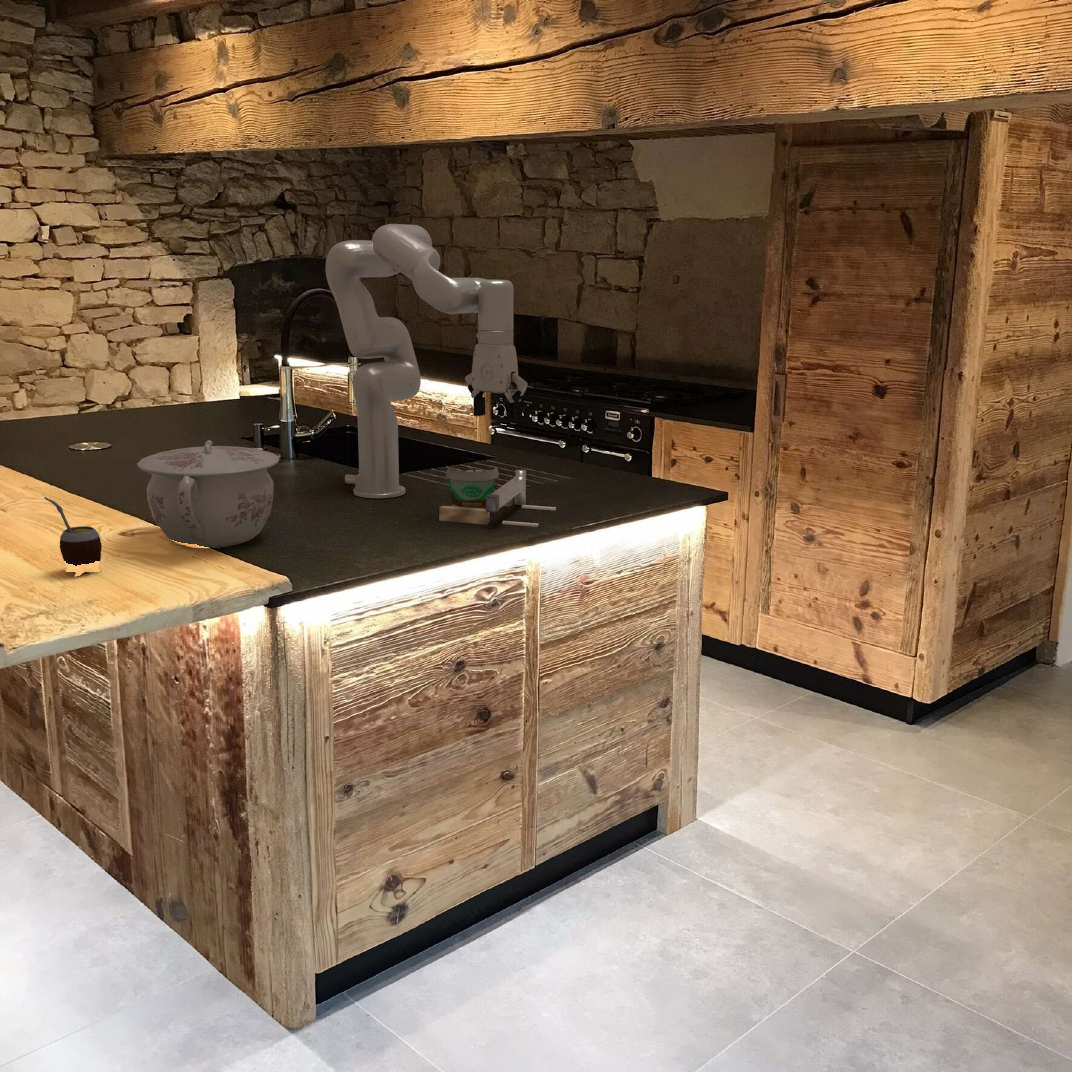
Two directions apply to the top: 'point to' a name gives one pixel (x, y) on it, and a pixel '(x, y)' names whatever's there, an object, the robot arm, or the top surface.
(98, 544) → the mate gourd
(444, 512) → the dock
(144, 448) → the top surface
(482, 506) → the food container
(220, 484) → the chamber pot
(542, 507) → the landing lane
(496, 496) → the retention gate
